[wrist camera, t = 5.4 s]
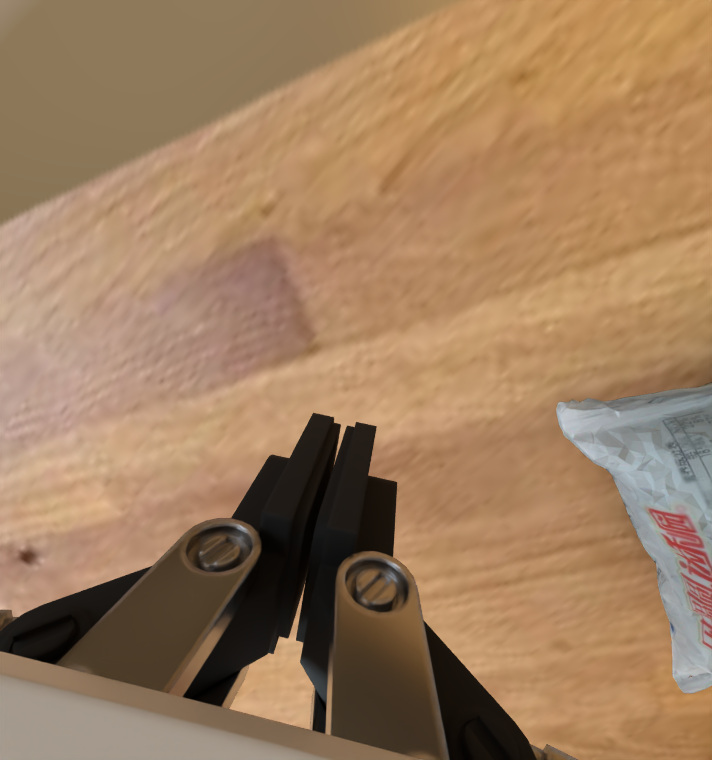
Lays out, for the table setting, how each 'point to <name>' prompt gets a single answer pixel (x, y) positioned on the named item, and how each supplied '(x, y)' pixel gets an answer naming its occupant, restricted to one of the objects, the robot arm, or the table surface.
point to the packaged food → (662, 501)
